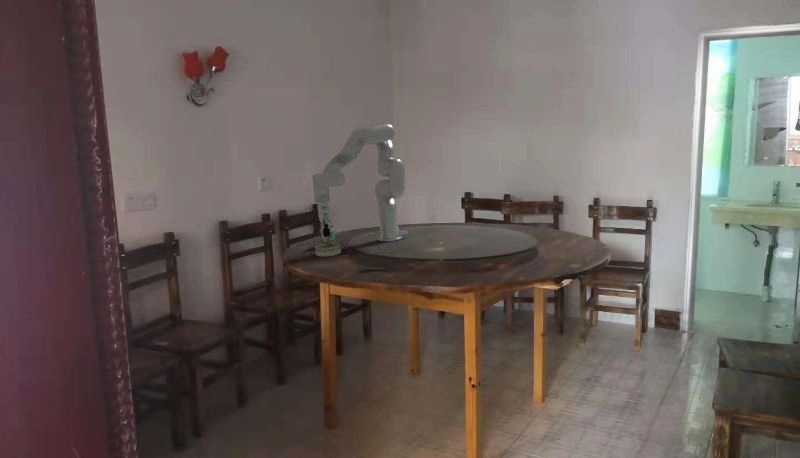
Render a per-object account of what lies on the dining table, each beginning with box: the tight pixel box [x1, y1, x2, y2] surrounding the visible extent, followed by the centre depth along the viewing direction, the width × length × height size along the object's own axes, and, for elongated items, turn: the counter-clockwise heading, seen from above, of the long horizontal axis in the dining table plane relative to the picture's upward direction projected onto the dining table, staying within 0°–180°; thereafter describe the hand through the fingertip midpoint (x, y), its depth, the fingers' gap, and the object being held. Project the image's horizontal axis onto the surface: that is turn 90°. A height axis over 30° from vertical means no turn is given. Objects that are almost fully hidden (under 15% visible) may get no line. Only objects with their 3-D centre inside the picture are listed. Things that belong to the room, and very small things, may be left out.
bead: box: [314, 242, 342, 257], centre depth 308 cm, size 12×12×4 cm
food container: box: [319, 224, 336, 245], centre depth 328 cm, size 12×6×10 cm, turn 168°
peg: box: [320, 220, 331, 247], centre depth 306 cm, size 4×4×14 cm
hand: (326, 235), depth 307 cm, fingers closed on peg, 4 cm apart
